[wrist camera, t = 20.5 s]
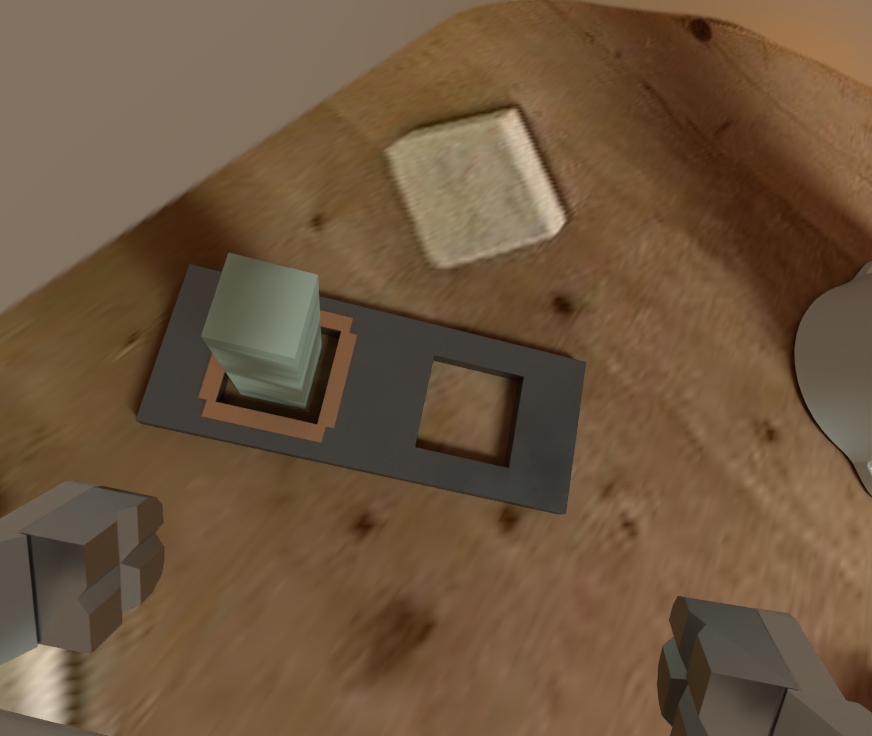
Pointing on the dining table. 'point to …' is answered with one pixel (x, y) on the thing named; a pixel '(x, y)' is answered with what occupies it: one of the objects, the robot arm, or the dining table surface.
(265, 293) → the peg
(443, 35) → the dining table surface
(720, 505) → the dining table surface
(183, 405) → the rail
